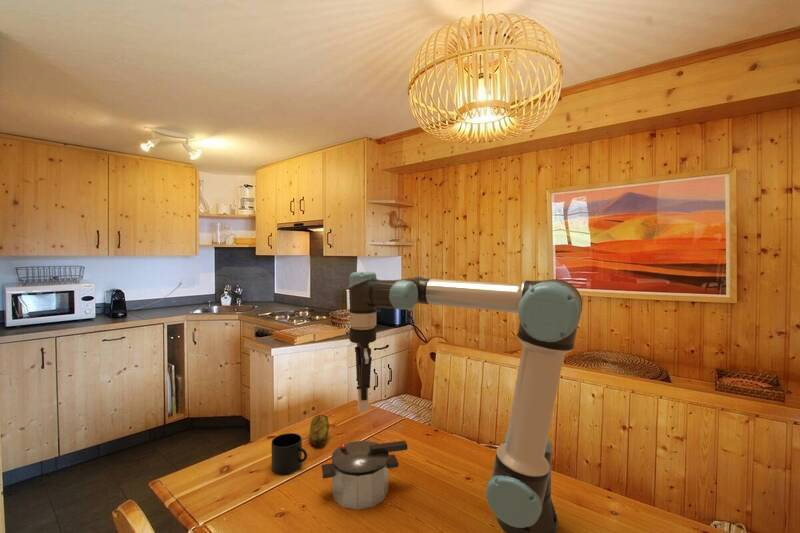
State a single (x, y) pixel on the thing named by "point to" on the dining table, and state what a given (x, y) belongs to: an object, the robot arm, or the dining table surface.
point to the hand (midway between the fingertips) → (363, 409)
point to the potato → (319, 430)
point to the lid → (364, 455)
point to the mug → (287, 453)
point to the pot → (359, 485)
